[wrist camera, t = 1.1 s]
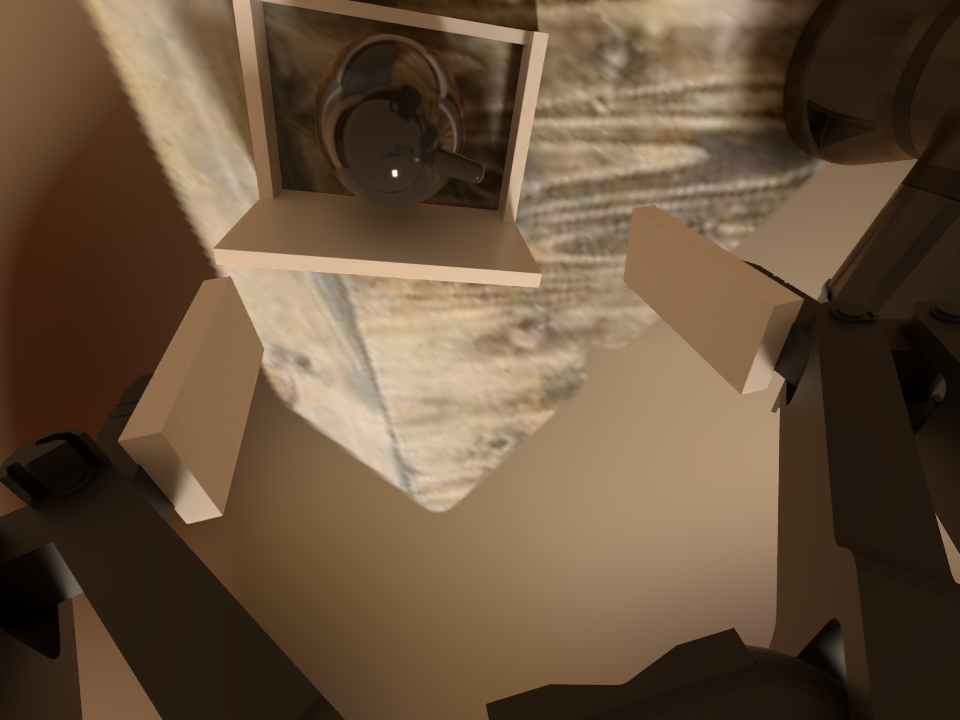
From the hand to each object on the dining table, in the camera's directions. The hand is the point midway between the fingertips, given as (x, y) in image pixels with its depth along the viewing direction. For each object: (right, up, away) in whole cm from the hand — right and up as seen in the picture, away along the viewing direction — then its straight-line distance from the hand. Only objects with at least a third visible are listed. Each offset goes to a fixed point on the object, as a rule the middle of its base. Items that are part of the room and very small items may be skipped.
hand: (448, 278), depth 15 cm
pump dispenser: (-5, +16, +20) cm, 27 cm away
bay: (-5, +16, +20) cm, 26 cm away
